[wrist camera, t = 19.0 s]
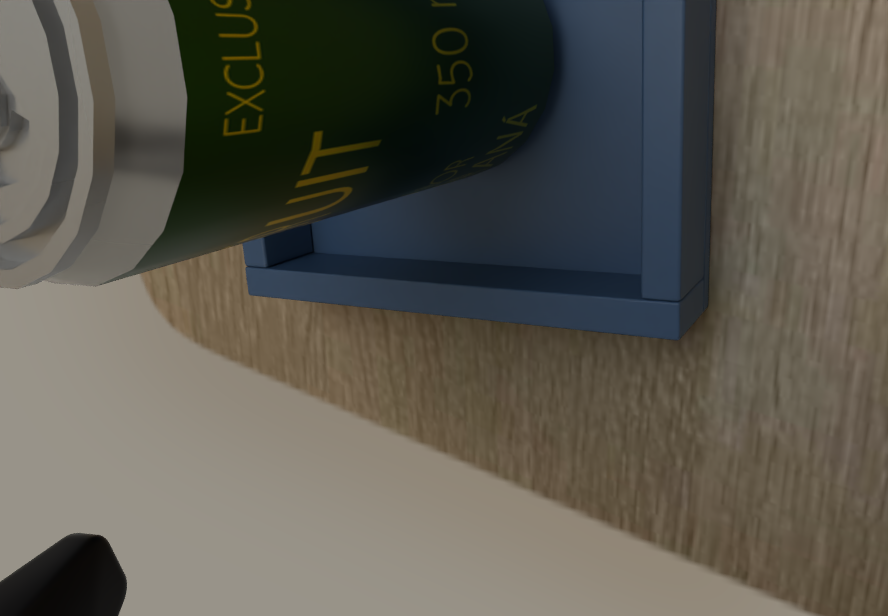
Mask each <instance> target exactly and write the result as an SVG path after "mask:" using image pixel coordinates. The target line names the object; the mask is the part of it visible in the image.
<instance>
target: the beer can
mask: <svg viewBox="0 0 888 616" xmlns="http://www.w3.org/2000/svg"><path fill="white" fill-rule="evenodd" d="M553 73H554V47H553V27H552V25H551V22H550V19H549V16H548V13H547V10H546V7H545V4H544V1H543V0H0V287H1V288H13V289H19V288H23V287H26V286H30V285H33V284H37V283H39V282H41V281H48V282H52V283H59V284H72V285H85V286H98V285H102V284H105V283H109V282H112V281H116V280H119V279H122V278H125V277H129V276H132V275H136V274H140V273H143V272H146V271H150V270H153V269H157V268H160V267H163V266H167V265H170V264H174V263H177V262H181V261H184V260H187V259H191V258H194V257H198V256H201V255H204V254H208V253H211V252H215V251H218V250H221V249H225V248H228V247H232V246H235V245H239V244H242V243H245V242H249V241H252V240H256V239H259V238H262V237H266V236H269V235H273V234H276V233H280V232H283V231H286V230H290V229H293V228H297V227H300V226H303V225H307V224H310V223H314V222H317V221H321V220H324V219H327V218H331V217H334V216H338V215H341V214H344V213H348V212H351V211H355V210H358V209H361V208H365V207H368V206H372V205H375V204H379V203H382V202H385V201H389V200H392V199H396V198H399V197H402V196H406V195H409V194H413V193H416V192H420V191H423V190H426V189H430V188H433V187H437V186H440V185H443V184H447V183H450V182H454V181H457V180H460V179H464V178H467V177H471V176H473V175H476V174H478V173H480V172H483V171H485V170H488V169H490V168H493V167H495V166H498V165H500V164H501V163H502V162H504V161H505V160H506V159H507V158H508V157H509V156H510V155H511V154H512V153H514V152H515V151H516V150H517V149H518V148H519V147H520V146H521V145H523V144H524V143H525V142H526V141H527V139H528V137H529V135H530V134H531V132H532V130H533V129H534V127H535V125H536V123H537V122H538V120H539V118H540V116H541V115H542V113H543V111H544V110H545V107H546V103H547V98H548V94H549V90H550V86H551V82H552V77H553Z"/></svg>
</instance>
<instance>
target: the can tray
mask: <svg viewBox="0 0 888 616" xmlns="http://www.w3.org/2000/svg"><path fill="white" fill-rule="evenodd" d="M543 1H544V4H545V7H546V10H547V13H548V16H549V19H550V22H551V25H552V27H553V47H554V73H553V77H552V82H551V86H550V90H549V94H548V98H547V103H546V107H545V110H544V111H543V113H542V115H541V116H540V118H539V120H538V122H537V123H536V125H535V127H534V129H533V130H532V132H531V134H530V135H529V137H528V139H527V141H526V142H525V143H524V144H523V145H521V146H520V147H519V148H518V149H517V150H516V151H515V152H514V153H512V154H511V155H510V156H509V157H508V158H507V159H506V160H505V161H504V162H502V163H501V164H500V165H498V166H495V167H493V168H490V169H488V170H485V171H483V172H480V173H478V174H476V175H473V176H471V177H467V178H464V179H460V180H457V181H454V182H450V183H447V184H443V185H440V186H437V187H433V188H430V189H426V190H423V191H420V192H416V193H413V194H409V195H406V196H402V197H399V198H396V199H392V200H389V201H385V202H382V203H379V204H375V205H372V206H368V207H365V208H361V209H358V210H355V211H351V212H348V213H344V214H341V215H338V216H334V217H331V218H327V219H324V220H321V221H317V222H314V223H310V224H307V225H303V226H300V227H297V228H293V229H290V230H286V231H283V232H280V233H276V234H273V235H269V236H266V237H262V238H259V239H256V240H252V241H249V242H245V243H242V244H243V251H244V258H245V264H246V266H248V267H246V277H247V284H248V291H249V295H253V296H263V297H272V298H282V299H291V300H300V301H310V302H319V303H329V304H338V305H348V306H357V307H367V308H376V309H386V310H395V311H405V312H414V313H423V314H433V315H442V316H452V317H461V318H471V319H480V320H490V321H499V322H509V323H518V324H527V325H537V326H546V327H556V328H565V329H575V330H584V331H594V332H603V333H613V334H622V335H632V336H641V337H650V338H660V339H669V340H680V338H681V337H682V336H683V335H684V334H685V333H686V331H687V330H688V329H689V328H690V327H691V326H692V325H693V323H694V322H695V321H696V320H697V319H698V318H699V316H700V315H701V314H702V312H704V311H705V309H706V308H707V307H708V291H709V253H710V216H711V179H712V142H713V105H714V68H715V31H716V0H543Z"/></svg>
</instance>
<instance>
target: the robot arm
mask: <svg viewBox="0 0 888 616" xmlns="http://www.w3.org/2000/svg"><path fill="white" fill-rule="evenodd" d="M126 590H127V580H126V576H125V574H124V572H123V570H122V568H121V566H120V564H119V562H118V560H117V558H116V556H115V554H114V552H113V550H112V548H111V546H110V544H109V542H108V541H107V540H106V538H104V537H103V536H101V535H93V534H83V533H74V534H70V535H68V536H66V537H64V538H63V539H61V540H60V541H58V542H57V543H55V544H54V545H53V546H51V547H50V548H48V549H47V550H46V551H44V552H42V553H41V554H40V555H38V556H37V557H35V558H34V559H32V560H31V561H29V562H28V563H27V564H25V565H24V566H22V567H21V568H19V569H18V570H16V571H15V572H14V573H12V574H11V575H9V576H8V577H6V578H5V579H4V580H2V581H1V582H0V616H118V615H119V612H120V609H121V607H122V604H123V602H124V599H125V595H126Z"/></svg>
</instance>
